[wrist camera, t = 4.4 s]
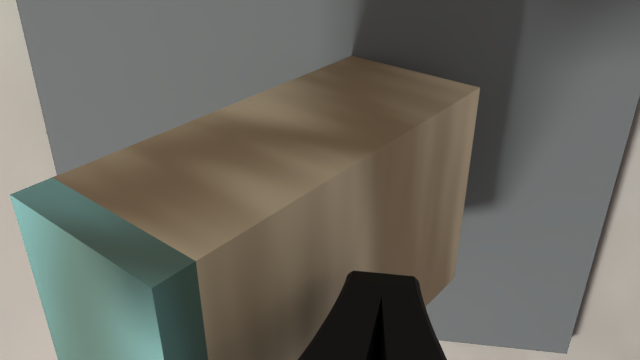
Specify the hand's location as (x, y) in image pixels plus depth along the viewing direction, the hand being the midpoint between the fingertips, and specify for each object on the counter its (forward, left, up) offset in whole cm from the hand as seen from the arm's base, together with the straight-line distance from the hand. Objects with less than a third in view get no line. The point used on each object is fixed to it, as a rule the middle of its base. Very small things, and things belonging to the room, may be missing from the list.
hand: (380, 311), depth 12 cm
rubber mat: (+2, 0, -8) cm, 8 cm away
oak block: (0, 0, -6) cm, 6 cm away
